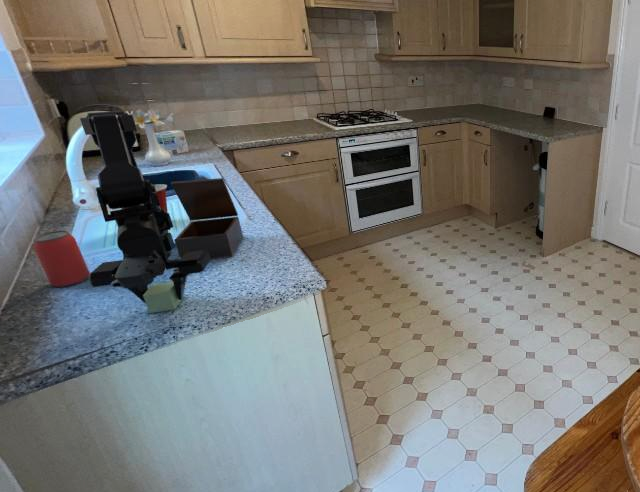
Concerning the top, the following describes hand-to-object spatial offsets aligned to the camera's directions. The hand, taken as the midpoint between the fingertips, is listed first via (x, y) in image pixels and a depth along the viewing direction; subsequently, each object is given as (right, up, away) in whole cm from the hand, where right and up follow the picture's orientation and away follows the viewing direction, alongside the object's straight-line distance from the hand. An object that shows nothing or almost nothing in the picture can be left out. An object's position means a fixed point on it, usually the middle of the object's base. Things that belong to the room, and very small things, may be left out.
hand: (165, 301), depth 88 cm
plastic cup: (-37, +15, +39) cm, 56 cm away
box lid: (-8, +22, +23) cm, 33 cm away
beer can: (-30, +3, +9) cm, 31 cm away
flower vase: (-89, +41, +101) cm, 141 cm away
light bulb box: (-98, +49, +120) cm, 162 cm away
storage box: (-7, +9, +24) cm, 27 cm away
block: (0, -1, 0) cm, 1 cm away
